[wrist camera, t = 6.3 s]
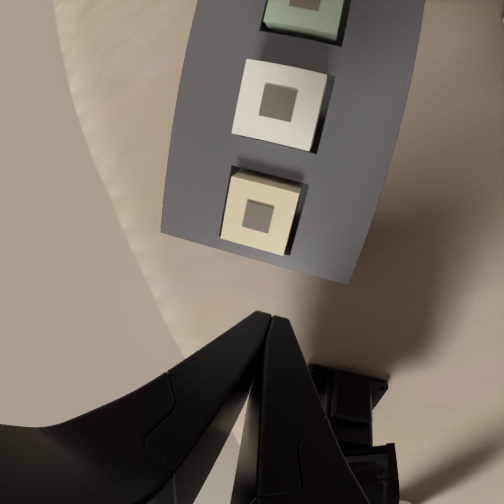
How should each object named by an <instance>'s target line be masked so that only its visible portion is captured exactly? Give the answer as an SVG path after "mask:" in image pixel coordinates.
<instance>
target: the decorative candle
mask: <svg viewBox="0 0 504 504" xmlns="http://www.w3.org/2000/svg"><path fill="white" fill-rule="evenodd" d="M399 504H412V503H410V502H409V501H403V500H399Z"/></svg>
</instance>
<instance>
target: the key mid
mask: <svg viewBox="0 0 504 504" xmlns="http://www.w3.org/2000/svg"><path fill="white" fill-rule="evenodd" d="M326 84H327V75H326V74H322V73H318V72H314V71H310V70H305V69H301V68H296V67H291V66H286V65H281V64H275V63H270V62H264V61H258V60H251V59H246V64H245V68H244V73H243V78H242V82H241V87H240V92H239V97H238V102H237V107H236V112H235V117H234V122H233V127H232V134H237V135H242V136H246V137H251V138H256V139H260V140H265V141H269V142H273V143H278V144H282V145H286V146H290V147H294V148H298V149H302V150H306V151H310V149H311V147H312V144H313V140H314V136H315V132H316V127H317V123H318V119H319V115H320V110H321V106H322V102H323V98H324V93H325V89H326Z"/></svg>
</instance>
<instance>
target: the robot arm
mask: <svg viewBox="0 0 504 504" xmlns="http://www.w3.org/2000/svg"><path fill="white" fill-rule="evenodd" d="M271 318H272V319H271ZM312 370H314V371H312ZM252 383H253V384H252ZM251 386H252V387H251ZM380 386H382V387H380ZM250 389H251V391H250ZM387 389H388V382H387V381H386V380H382V379H377V378H372V377H367V376H363V375H358V374H354V373H349V372H345V371H341V370H336V369H332V368H328V367H324V366H320V365H316V364H311V365H309V366H307V364H306V362H305V359H304V357H303V354H302V352H301V349H300V346H299V344H298V341H297V339H296V336H295V334H294V331H293V329H292V326H291V324H290V321H289V320H288V319H287V318H283V317H280V316H276V315H274V316H271V314H268V313H265V312H261V311H255V312H253V313H252V314H251V315H249V316H248V317H246V318H245V319H243V320H242V321H241V322H239V323H238V324H236V325H235V326H233V327H232V328H231V329H229V330H228V331H226V332H225V333H223V334H222V335H220V336H219V337H217V338H216V339H215V340H213V341H212V342H210V343H209V344H207V345H206V346H204V347H203V348H201V349H200V350H198V351H197V352H195V353H194V354H192V355H191V356H189V357H188V358H186V359H185V360H183V361H182V362H180V363H179V364H177V365H176V366H174V367H173V368H171V369H170V370H168V371H167V372H165V373H163V374H161V375H160V376H158V377H157V378H155V379H154V380H152V381H151V382H149V383H147V384H146V385H144V386H142V387H140V388H139V389H137V390H135V391H133V392H131V393H129V394H127V395H125V396H123V397H121V398H119V399H117V400H115V401H113V402H110V403H108V404H106V405H103V406H101V407H99V408H97V409H94V410H92V411H90V412H87V413H85V414H83V415H80V416H78V417H76V418H74V419H71V420H68V421H66V422H63V423H60V424H56V425H52V426H47V427H38V428H37V427H36V428H35V427H21V426H11V425H2V424H0V504H193V503H194V501H195V499H196V497H197V495H198V493H199V492H200V490H201V488H202V486H203V484H204V482H205V480H206V479H207V476H208V475H209V473H210V471H211V469H212V467H213V465H214V463H215V461H216V459H217V458H218V456H219V454H220V452H221V450H222V448H223V446H224V444H225V442H226V440H227V438H228V436H229V434H230V432H231V430H232V428H233V426H234V424H235V422H236V420H237V418H238V416H239V414H240V412H241V410H242V408H243V406H244V404H245V402H246V399H247V397H248V395H249V399H248V404H247V410H246V416H245V422H244V428H243V434H242V440H241V446H240V451H239V457H238V463H237V469H236V474H235V480H234V485H233V491H232V496H231V502H230V504H399V479H398V469H397V460H396V451H395V443H387V444H386V445H382V446H373V436H372V410H373V409H374V407H375V406H376V405H377V403H378V402H379V401H380V399H381V398H382V396H383V395H384V394H385V392H386V391H387ZM249 392H250V394H249Z"/></svg>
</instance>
